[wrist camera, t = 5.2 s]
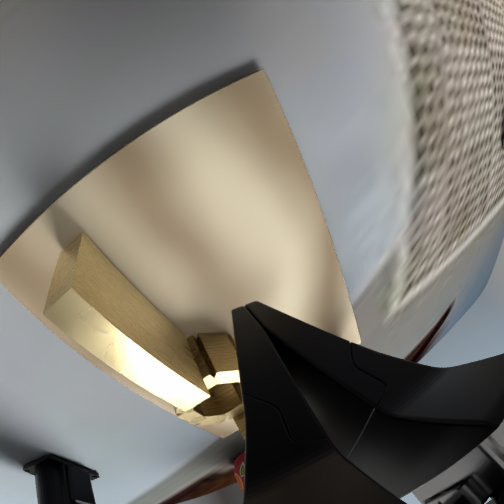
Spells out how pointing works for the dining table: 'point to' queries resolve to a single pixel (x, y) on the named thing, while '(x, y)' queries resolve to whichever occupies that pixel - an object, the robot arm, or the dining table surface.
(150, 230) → the mount board
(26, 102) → the dining table surface
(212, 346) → the hinge base
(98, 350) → the loose leaf
